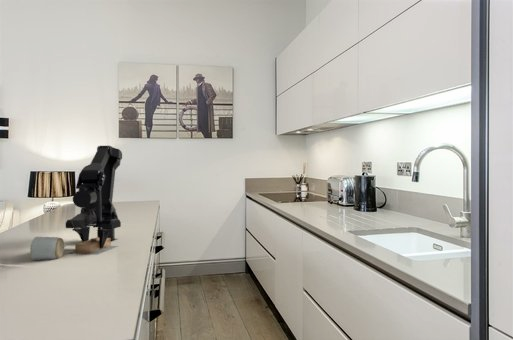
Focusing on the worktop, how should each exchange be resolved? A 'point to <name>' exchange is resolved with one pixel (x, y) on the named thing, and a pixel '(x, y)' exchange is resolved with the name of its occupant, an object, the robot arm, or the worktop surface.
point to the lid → (91, 246)
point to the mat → (97, 251)
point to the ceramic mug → (46, 248)
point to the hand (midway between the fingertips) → (93, 247)
